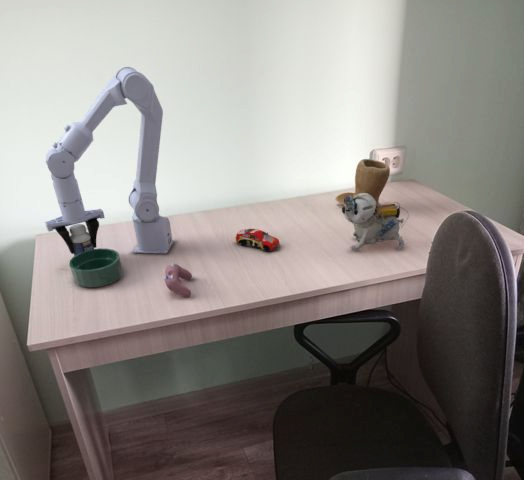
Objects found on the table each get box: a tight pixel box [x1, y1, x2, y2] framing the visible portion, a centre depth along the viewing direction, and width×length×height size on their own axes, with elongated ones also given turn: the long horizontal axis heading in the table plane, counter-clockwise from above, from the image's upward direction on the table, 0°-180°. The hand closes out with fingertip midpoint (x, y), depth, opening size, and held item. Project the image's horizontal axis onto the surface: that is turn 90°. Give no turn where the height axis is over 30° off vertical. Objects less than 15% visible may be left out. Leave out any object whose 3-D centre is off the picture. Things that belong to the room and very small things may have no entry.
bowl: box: [68, 247, 124, 288], centre depth 125 cm, size 12×12×5 cm
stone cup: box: [335, 158, 391, 213], centre depth 152 cm, size 15×12×15 cm
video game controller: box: [164, 262, 193, 298], centre depth 119 cm, size 10×5×7 cm, turn 5°
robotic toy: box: [341, 193, 410, 251], centre depth 131 cm, size 13×17×15 cm
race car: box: [235, 228, 281, 253], centre depth 137 cm, size 13×5×4 cm, turn 57°
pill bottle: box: [69, 223, 95, 257], centre depth 131 cm, size 5×5×10 cm
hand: (83, 249), depth 132 cm, fingers closed on pill bottle, 5 cm apart
